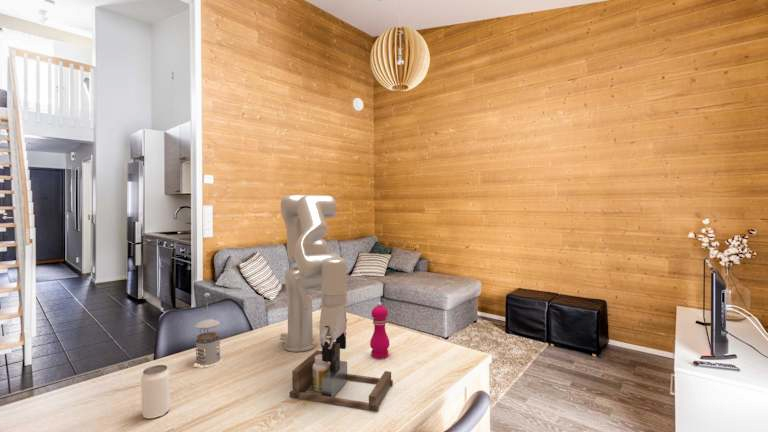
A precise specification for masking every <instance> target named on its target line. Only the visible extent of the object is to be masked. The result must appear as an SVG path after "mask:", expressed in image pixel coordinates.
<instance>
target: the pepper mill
mask: <svg viewBox="0 0 768 432" xmlns="http://www.w3.org/2000/svg"><path fill="white" fill-rule="evenodd" d="M388 315H389V313H388V309H387V307H385V306H383V303H382V302H381V301H378V302H377V304H376V306H375V307H373V308H372V310H371V317H372V318H373V319H372V324H373V326H374V330H373V334H372V336H371V338H370V340H369V345H370V346H369V347H370V348H371V354H370V355H371V357H372V358H374V359H380V360H381V359H385V358H388V357H389V350H388V349H389V348H390V338H389V336H388V335H387V332H386V324H387V317H388Z"/></svg>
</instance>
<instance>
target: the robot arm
mask: <svg viewBox="0 0 768 432" xmlns="http://www.w3.org/2000/svg"><path fill="white" fill-rule="evenodd" d="M280 212H281V213H280V214H281V217H282V219H283V222H284V225H285V230H286V246H287V247H286V248H287V249H286V251H287V258H288V261H289V262H291V263H293V264H296V266H293V267H290V268H289V269H287V270H286V271H285V274H284V284H285V291H286V298H287V299H286V300H287V301H286V302H287V333H284V332H281V333H280V337H279V339H280V340H281V341H285V342H284V344H283V349H285V350H286V351H288V352H294V353H297V352H298V353H299V352H306V351H309V350H312V349H314V348H316V347H317V345H318V343H317V340H316V339H314V338H313V337H314V335H313V301H312V298H311V297H310V296H309V294H307V292H306V291H311V290H312V291H313V290H319V289H321V297H322V298H321V306H322V305H323V306H322V307H320V308H321V309H320V316H319V317H320V319H319V341H320V346H321V347H320V348H321V351H322V361H325V362H329V363H330V362H332V361H333V348H332V344H333V342H334V341H337V342H340V350H346V348H347V323H348V319H347V308H346V307H347V306H346V305H347V304H348V303H347V301H348V300H347V299H348V296H347V294H348V292H347V287H348V285H347V282H348V281H347V275H348V274H347V267H348V266H347V261H346V259H345V258H342V257H341V255H339V254H337V253H329V247H328V243H327V242H326V240H325V239H324V237H325V236H326V235H327V234H328V230H329V227H328V225H327V222H326V219H333V218H334V217H336V215H337V212H338V204H337V201H336V199H335V198H334V197H333V196H331V195H329V194H328V195H326V194H287V195H284V196H283V197H282V199H281V201H280ZM328 341H329V342H328Z"/></svg>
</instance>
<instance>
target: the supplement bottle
mask: <svg viewBox="0 0 768 432" xmlns="http://www.w3.org/2000/svg"><path fill="white" fill-rule="evenodd" d="M329 370H330V362H325V361H322V354H319V355H316V356H315V363H314V364H313V385H312V389H313V390H314V391H315V392H321V393H322V377H323V376H324V375H325V374H326V373H327V372H328V371H329Z"/></svg>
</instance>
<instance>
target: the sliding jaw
mask: <svg viewBox="0 0 768 432" xmlns="http://www.w3.org/2000/svg"><path fill="white" fill-rule="evenodd" d="M332 348H333V361H332V362H329V363H330V370H329V371H328V372H327V373H326V374H325V375H324V376H323V377H322V392H321V395H322V396H329V397H335V396H336V394H337V393H338V392H339V391H340V390H341V389H342V388H343V386H344V385H345V384H346V383H347V381H348V380H347V374H348V361H344V360H341V349H340V342H337V341H336V340H333V344H332Z"/></svg>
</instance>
